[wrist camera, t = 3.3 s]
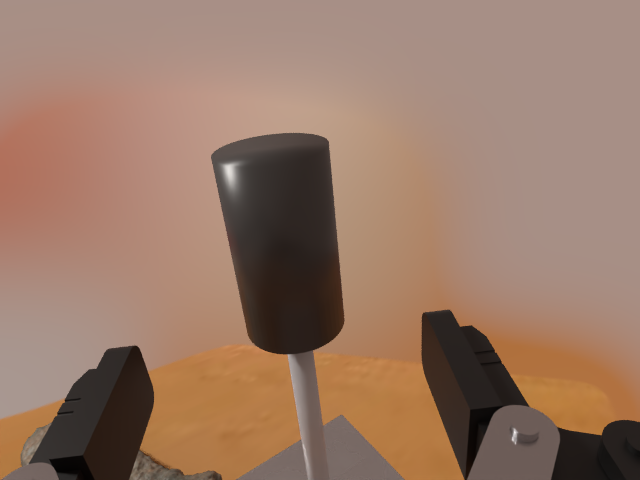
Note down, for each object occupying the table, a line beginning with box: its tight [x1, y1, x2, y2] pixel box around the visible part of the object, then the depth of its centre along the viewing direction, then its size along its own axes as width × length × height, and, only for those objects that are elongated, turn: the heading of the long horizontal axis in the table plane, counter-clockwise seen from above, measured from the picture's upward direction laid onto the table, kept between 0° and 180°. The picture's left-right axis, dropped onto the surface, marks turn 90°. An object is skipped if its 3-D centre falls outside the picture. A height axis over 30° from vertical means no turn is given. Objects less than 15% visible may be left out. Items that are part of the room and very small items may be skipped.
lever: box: [211, 133, 344, 480], centre depth 23 cm, size 4×4×26 cm
